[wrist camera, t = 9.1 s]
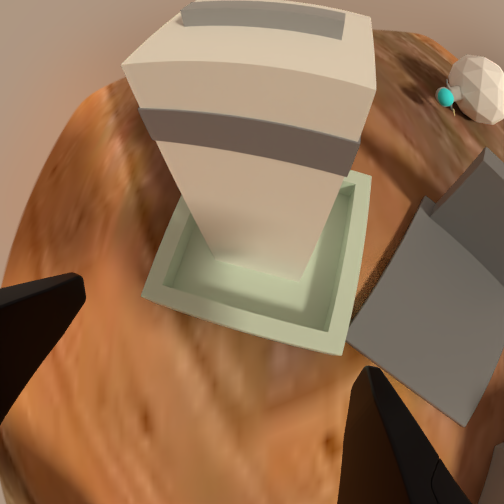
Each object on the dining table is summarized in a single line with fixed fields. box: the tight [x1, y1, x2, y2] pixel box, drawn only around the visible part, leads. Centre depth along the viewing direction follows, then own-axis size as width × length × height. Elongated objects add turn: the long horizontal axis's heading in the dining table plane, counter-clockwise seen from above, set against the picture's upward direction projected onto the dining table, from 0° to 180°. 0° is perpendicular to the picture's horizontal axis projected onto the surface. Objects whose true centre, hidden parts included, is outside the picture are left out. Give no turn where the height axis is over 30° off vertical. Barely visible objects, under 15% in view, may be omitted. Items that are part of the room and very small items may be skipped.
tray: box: [141, 170, 372, 356], centre depth 16 cm, size 11×11×2 cm
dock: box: [345, 147, 504, 427], centre depth 12 cm, size 12×12×8 cm
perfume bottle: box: [435, 55, 504, 125], centre depth 18 cm, size 8×8×12 cm
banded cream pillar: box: [121, 0, 376, 282], centre depth 11 cm, size 4×5×14 cm
